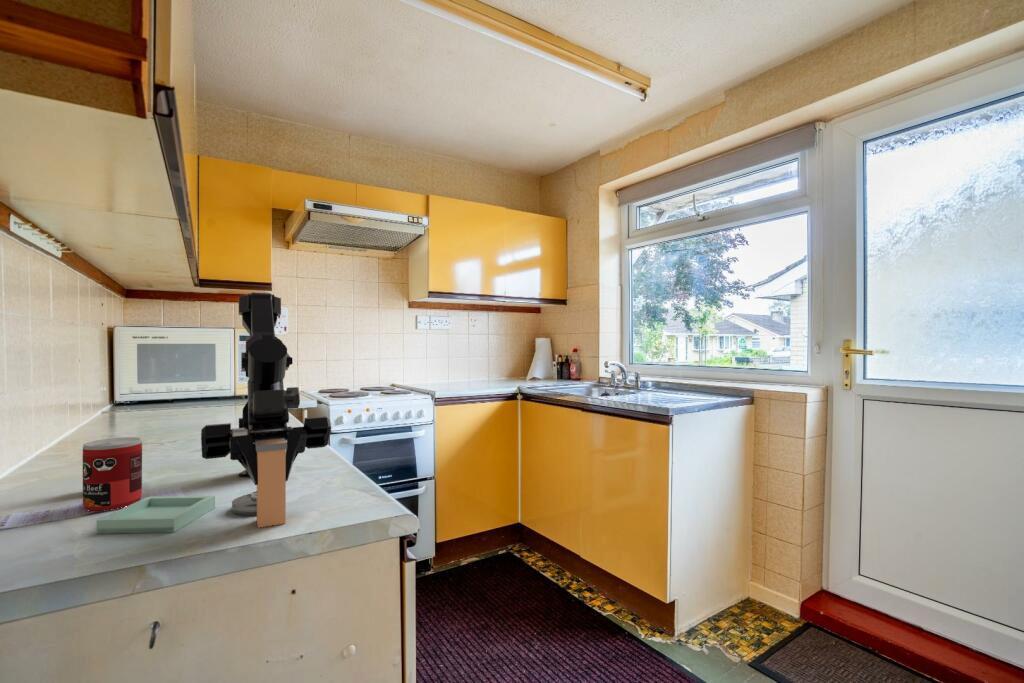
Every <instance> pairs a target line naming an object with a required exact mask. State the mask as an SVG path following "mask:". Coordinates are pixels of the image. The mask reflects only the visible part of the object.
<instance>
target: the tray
mask: <svg viewBox="0 0 1024 683" xmlns="http://www.w3.org/2000/svg"><path fill="white" fill-rule="evenodd" d="M214 508H216V495H182V496H181V495H180V496H179V495H178V496H175V495H174V496H170V495H169V496H146V497H145V498H143V499H142V498H141V499H140V501H138V502H136V503H133V504H131V505H129V506H127V507H125V508H121V509H117V510H115V511H114V512H112V513H110V514H109V513H108V514H107V515H105V516H103V517H101V518H99V519H97V520H96V535H105V534H106V535H108V534H109V535H113V533H114V534H117V533H119V534H147V533H148V534H156V533H157V534H158V533H159V534H160V533H175V532H177V531H179V530H180V529H182V528H184V527H185V526H187V525H188V524H190V523H192V522H194V521H195V520H197V519H199V518H201V517H202V516H203V515H205V514H207V513H208V512H210V511H211V510H214Z"/></svg>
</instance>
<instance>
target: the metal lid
mask: <svg viewBox="0 0 1024 683" xmlns="http://www.w3.org/2000/svg"><path fill="white" fill-rule="evenodd" d="M231 513H232V514H233V515H234V516H235V515H236V516H243V517H245V516H246V517H250V516H252V515H253V516H257V490H256V491H252V492H251V493H247V494H244V495H241V496H238V497H236V498H234V499H233V500H232V501H231Z"/></svg>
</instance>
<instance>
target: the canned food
mask: <svg viewBox="0 0 1024 683" xmlns="http://www.w3.org/2000/svg"><path fill="white" fill-rule="evenodd" d="M142 490H143V441H142V438H140V437H137V436H136V437H134V436H133V437H132V436H131V437H130V436H129V437H128V436H127V437H125V436H124V437H113V438H102V439H98V440H92V441H88V442H85V443H84V444H82V506H83V510H85V509H86V510H89V511H88V512H90V511H101V512H107V511H106V510H110V511H112V510H111V509H116V510H118V509H117V508H121V507H125V506H129V505H131V504H133V503H136V502H138V501H140V500H142V496H143V495H142V494H143V491H142ZM121 509H122V508H121ZM86 510H85V511H86ZM104 510H105V511H104Z"/></svg>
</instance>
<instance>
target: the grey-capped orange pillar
mask: <svg viewBox="0 0 1024 683" xmlns="http://www.w3.org/2000/svg"><path fill="white" fill-rule="evenodd" d="M255 448H256V452H257V470H258V485H256V491H257V515H256V523H257V524H256V525H257V528H258V529H260V527H261V528H266V526H267V527H271V526H272V525H273V526H278V525H284V524H286V523H287V521H286V519H287V518H286V497H287V495H286V493H287V492H286V491H287V490H286V485H287V481H286V449H287V441H286V440H285V438H282V439H270V440H259V441H255Z"/></svg>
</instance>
